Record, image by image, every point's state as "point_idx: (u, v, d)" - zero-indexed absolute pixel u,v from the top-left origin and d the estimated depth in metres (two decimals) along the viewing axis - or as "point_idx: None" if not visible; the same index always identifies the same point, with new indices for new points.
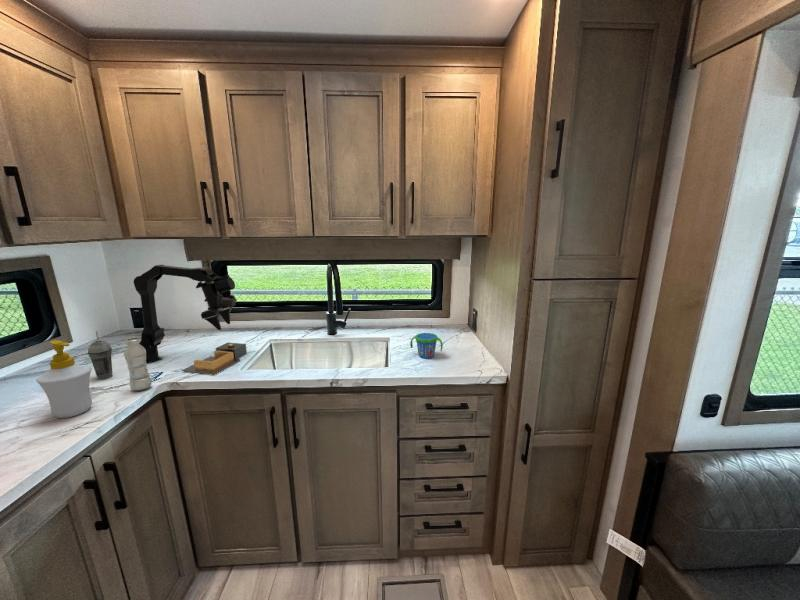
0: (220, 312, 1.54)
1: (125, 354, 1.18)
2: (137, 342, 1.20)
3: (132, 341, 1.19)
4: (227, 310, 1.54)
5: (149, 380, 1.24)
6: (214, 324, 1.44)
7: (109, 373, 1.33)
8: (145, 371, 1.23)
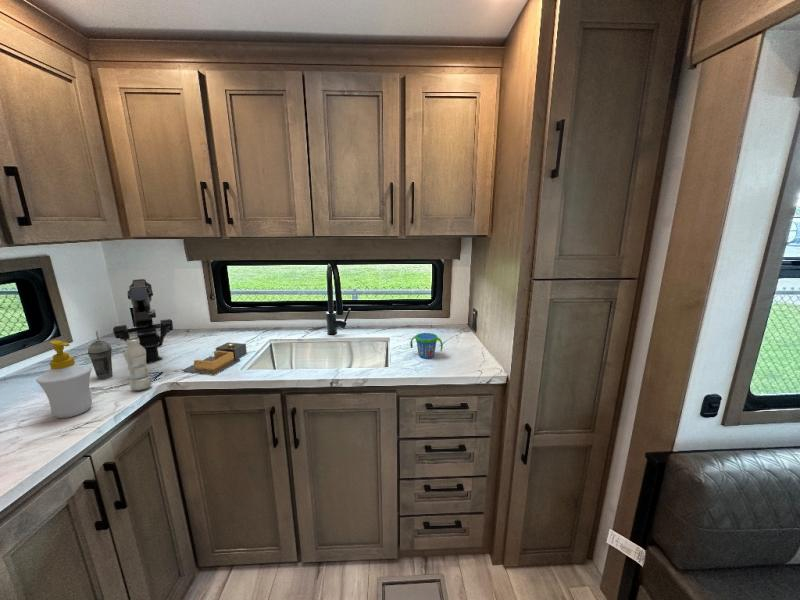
0: None
1: (125, 354, 1.18)
2: (137, 342, 1.20)
3: (132, 341, 1.19)
4: None
5: (149, 380, 1.24)
6: None
7: (109, 373, 1.33)
8: (145, 371, 1.23)
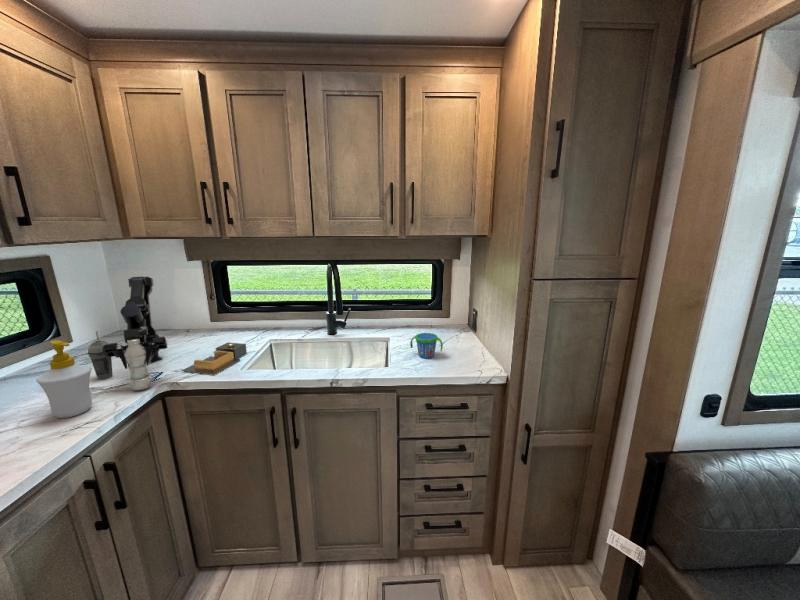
0: None
1: (125, 354, 1.18)
2: (137, 342, 1.20)
3: (132, 341, 1.19)
4: None
5: (149, 380, 1.24)
6: None
7: (109, 373, 1.33)
8: (145, 371, 1.23)
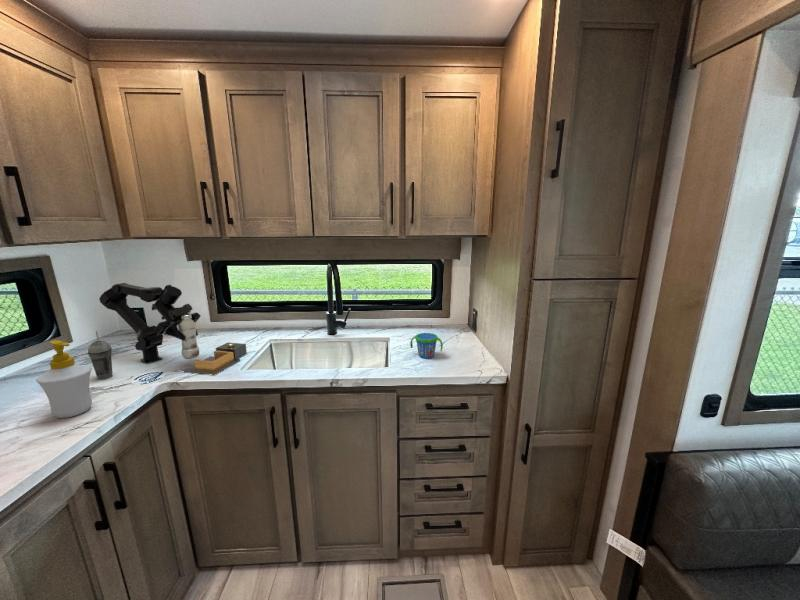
0: None
1: (185, 327, 1.39)
2: None
3: (189, 315, 1.40)
4: None
5: None
6: (176, 336, 1.39)
7: (109, 373, 1.33)
8: (196, 341, 1.45)
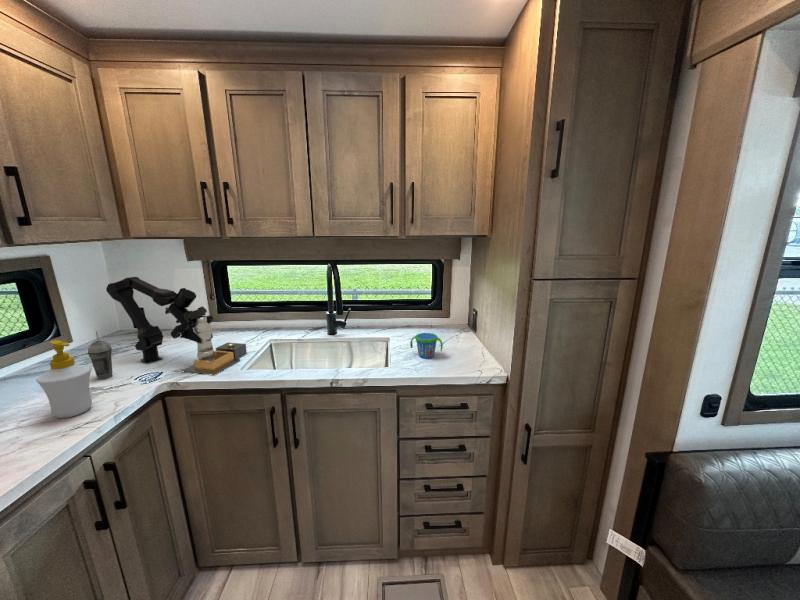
0: None
1: (201, 329, 1.39)
2: (206, 319, 1.42)
3: (205, 318, 1.41)
4: None
5: None
6: (192, 339, 1.39)
7: (109, 373, 1.33)
8: None
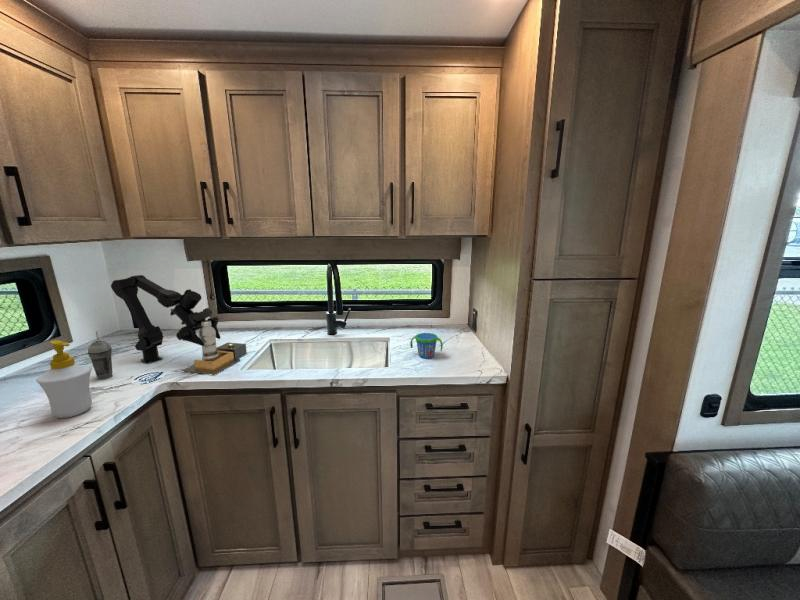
0: None
1: (206, 334, 1.39)
2: None
3: (209, 322, 1.40)
4: (212, 325, 1.47)
5: None
6: (195, 341, 1.37)
7: (109, 373, 1.33)
8: None
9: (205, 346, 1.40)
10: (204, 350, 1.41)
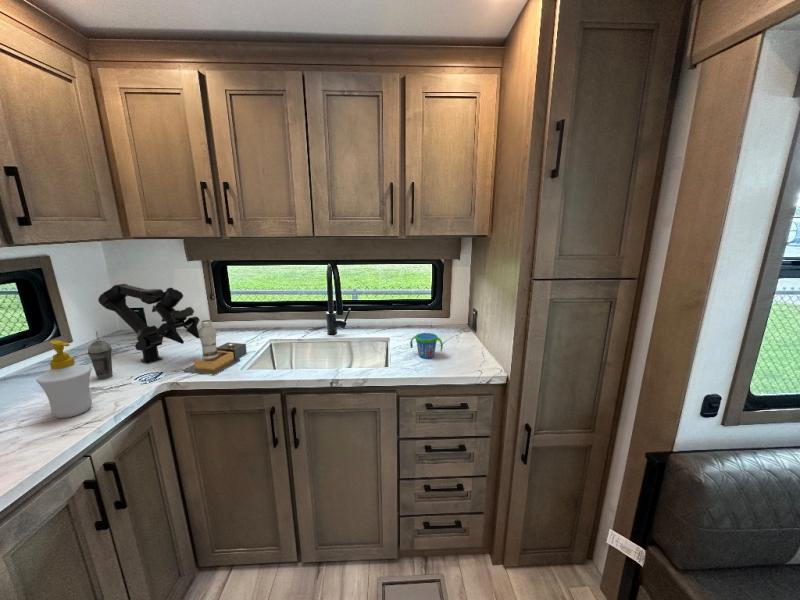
0: (188, 329, 1.49)
1: (206, 334, 1.39)
2: (211, 323, 1.42)
3: (210, 322, 1.40)
4: (192, 325, 1.48)
5: None
6: (175, 339, 1.38)
7: (109, 373, 1.33)
8: None
9: (205, 346, 1.40)
10: (204, 350, 1.41)
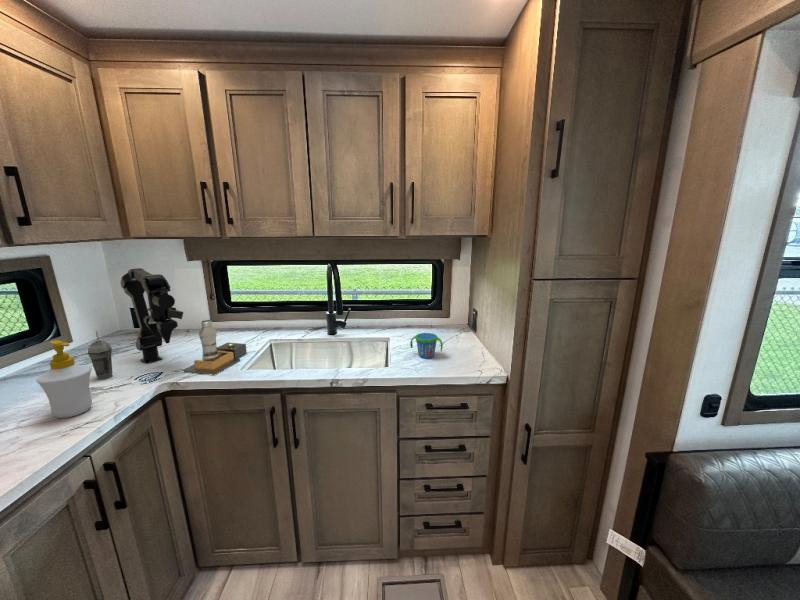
0: (150, 325, 1.39)
1: (206, 334, 1.39)
2: (211, 323, 1.42)
3: (210, 322, 1.40)
4: None
5: None
6: (165, 336, 1.34)
7: (109, 373, 1.33)
8: None
9: (205, 346, 1.40)
10: (204, 350, 1.41)
